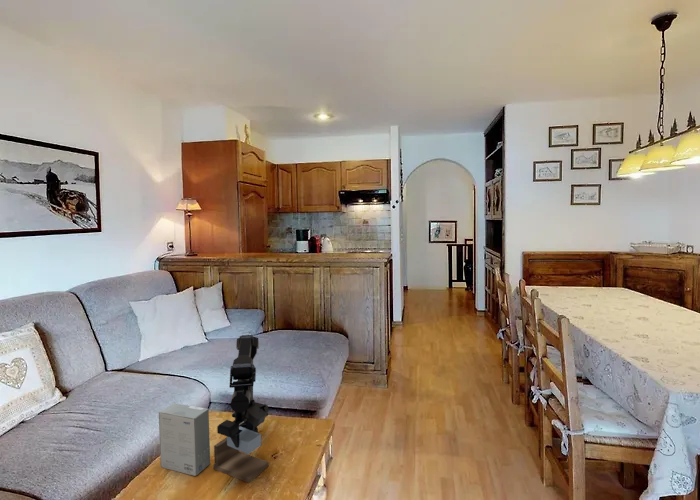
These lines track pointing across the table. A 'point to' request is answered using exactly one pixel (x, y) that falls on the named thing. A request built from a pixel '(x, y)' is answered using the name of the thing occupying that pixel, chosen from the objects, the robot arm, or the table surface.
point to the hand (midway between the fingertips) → (243, 442)
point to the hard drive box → (184, 438)
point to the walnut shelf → (237, 462)
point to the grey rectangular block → (246, 441)
